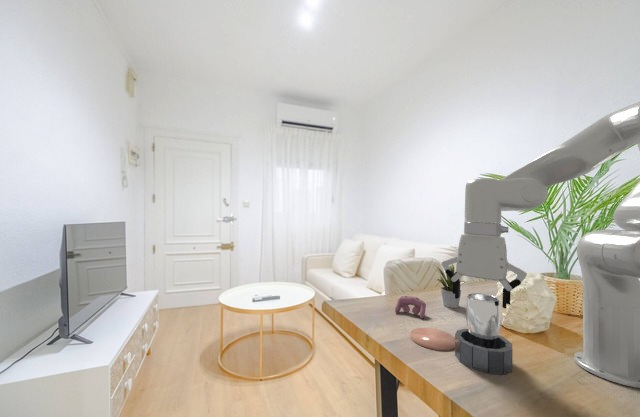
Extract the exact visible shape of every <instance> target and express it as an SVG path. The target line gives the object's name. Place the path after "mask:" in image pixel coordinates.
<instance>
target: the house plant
mask: <svg viewBox="0 0 640 417" xmlns="http://www.w3.org/2000/svg"><path fill="white" fill-rule="evenodd" d="M435 267H436V268H437V271H438V272H439V273H440V275H439V278H440V279H439V278H436V281H439V283H441V284H442V285H443V287H440V291H441V297H442V298H441V299H442V304H443V306H444V305H445V306H444V307H446V306H447V307H446V308H449V307H451V309H457V308H459V306H460V300H461V296H462V290H461V289H460V297H459V298H458V299H456V298H455V294H453V293H452V291H453V281H452V280H451V278H450V277H449V276H448V275H447V274H446V273H444V272H443V270H441V268H439V267H438V266H436V265H435ZM449 267H450V269H451V270H452V271H453V273H454V274H456V273H457V271H455V265H454V263H453V264H451V265H449ZM445 274H446V275H445ZM461 278H463V276H461V277H460V278H459V280H460V279H461ZM469 282H472V281H471V280H470V281H469V280H467V281H463V280H462V281H461V280H460V287H461V286H462V285H464V284H465V283H467V284H469V285H470V283H469Z"/></svg>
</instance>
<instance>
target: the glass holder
mask: <svg viewBox="0 0 640 417" xmlns="http://www.w3.org/2000/svg"><path fill="white" fill-rule="evenodd" d="M454 337H455V349H454V356H455V357H456V359H457V360H458V361H459V362H460V363H461V364H462V365H465V367H467V368H469V369H471V370H474V371H477V372H479V373H483V374H486V375H493V376H506V375H508V374H512V373H513V343H512V342H511V341H510V340H508V339H507V338H506V337H504V336H501V335H499V334H498V338H497V343H496V349H490V348H484V347H480V346H477V345H474V344H472V343H470V337H469V332H468V328H462V329H457V330H456V331H455V334H454Z"/></svg>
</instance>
